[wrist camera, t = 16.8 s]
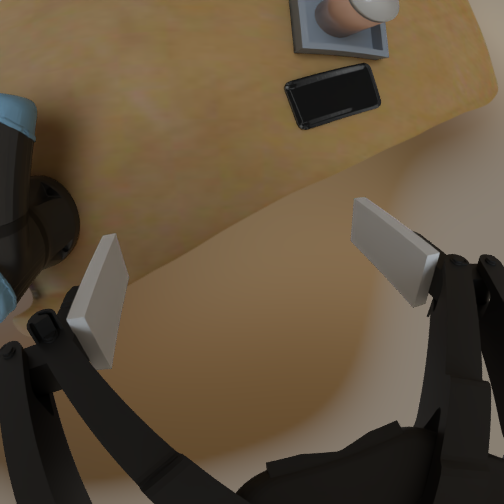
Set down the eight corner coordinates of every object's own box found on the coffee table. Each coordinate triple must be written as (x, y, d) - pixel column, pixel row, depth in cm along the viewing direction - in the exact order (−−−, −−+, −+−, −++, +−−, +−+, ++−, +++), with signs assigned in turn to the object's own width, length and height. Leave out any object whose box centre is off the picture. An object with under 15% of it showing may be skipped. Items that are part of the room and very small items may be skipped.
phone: (283, 83, 39) (368, 61, 39) (281, 84, 40) (365, 62, 40) (301, 132, 42) (382, 107, 42) (299, 131, 44) (379, 106, 43)
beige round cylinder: (316, 35, 36) (353, 15, 25) (312, -4, 33) (346, -32, 22) (358, 40, 37) (402, 26, 26) (353, 2, 34) (394, -19, 23)
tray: (294, 52, 38) (302, 48, 34) (286, -19, 32) (293, -29, 28) (375, 59, 39) (388, 57, 36) (367, -7, 33) (379, -14, 30)
